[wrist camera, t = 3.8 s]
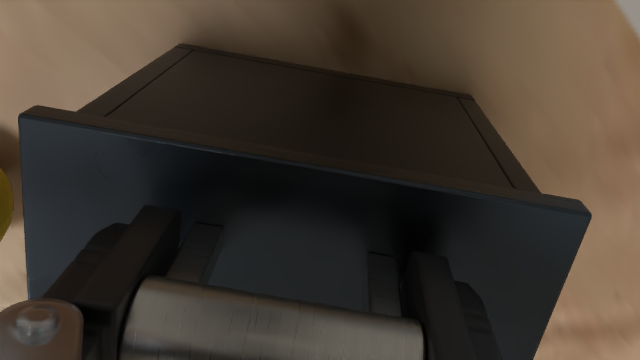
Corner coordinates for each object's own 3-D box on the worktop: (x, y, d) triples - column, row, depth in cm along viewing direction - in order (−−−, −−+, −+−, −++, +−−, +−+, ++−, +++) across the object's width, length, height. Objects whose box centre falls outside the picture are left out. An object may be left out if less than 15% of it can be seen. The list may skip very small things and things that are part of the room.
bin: (179, 42, 24) (37, 135, 13) (471, 94, 24) (568, 227, 13) (163, 303, 29) (53, 520, 19) (400, 343, 30) (428, 580, 19)
